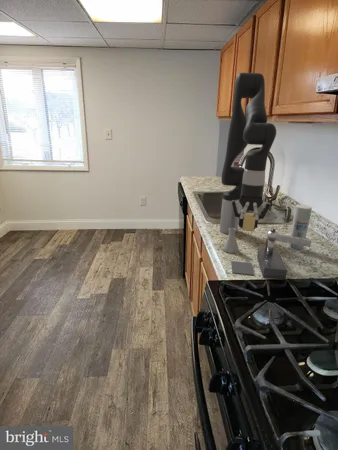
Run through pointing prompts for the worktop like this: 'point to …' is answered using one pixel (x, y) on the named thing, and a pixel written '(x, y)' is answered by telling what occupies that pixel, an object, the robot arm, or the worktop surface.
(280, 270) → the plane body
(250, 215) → the tan upright block
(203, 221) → the worktop surface
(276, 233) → the lever
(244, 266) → the mat
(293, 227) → the spray can
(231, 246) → the flask
